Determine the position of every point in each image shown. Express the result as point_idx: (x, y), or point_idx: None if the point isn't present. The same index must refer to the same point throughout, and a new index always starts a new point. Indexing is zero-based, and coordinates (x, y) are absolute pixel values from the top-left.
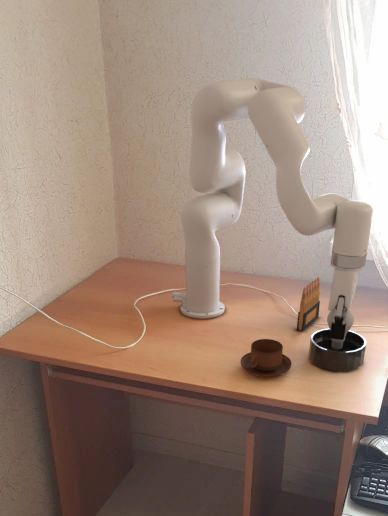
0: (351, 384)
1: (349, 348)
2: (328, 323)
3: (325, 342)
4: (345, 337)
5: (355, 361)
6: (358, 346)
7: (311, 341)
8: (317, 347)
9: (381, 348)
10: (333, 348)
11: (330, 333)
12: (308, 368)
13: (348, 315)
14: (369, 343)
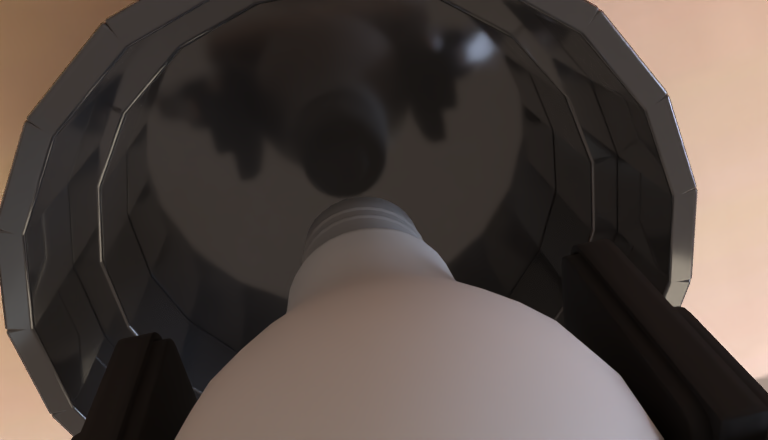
0: (27, 410)
1: (543, 262)
2: (230, 369)
3: (523, 54)
4: (622, 249)
5: None
6: None
7: (121, 10)
8: (17, 149)
9: None
10: (308, 232)
11: (100, 385)
12: (36, 19)
13: None
14: (752, 311)
